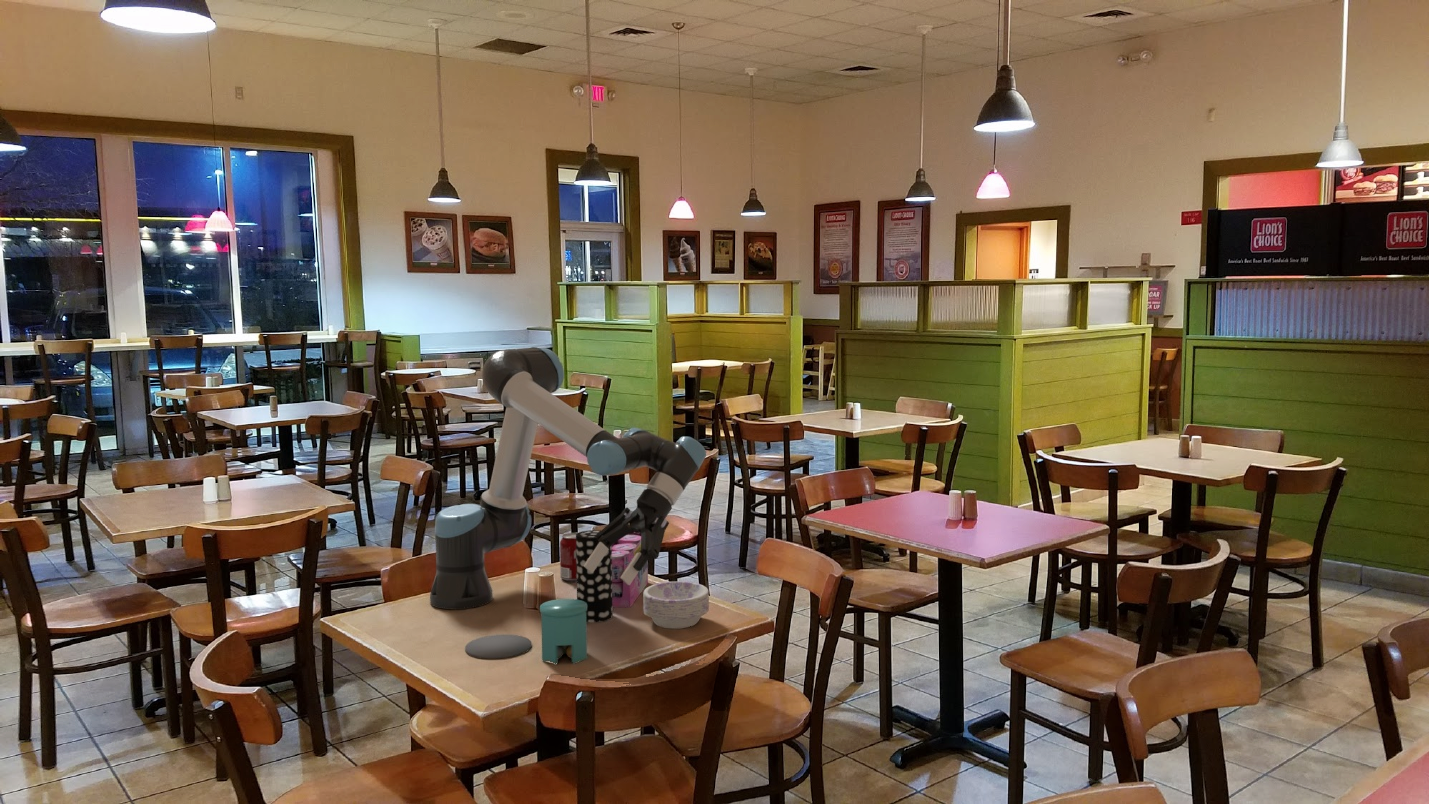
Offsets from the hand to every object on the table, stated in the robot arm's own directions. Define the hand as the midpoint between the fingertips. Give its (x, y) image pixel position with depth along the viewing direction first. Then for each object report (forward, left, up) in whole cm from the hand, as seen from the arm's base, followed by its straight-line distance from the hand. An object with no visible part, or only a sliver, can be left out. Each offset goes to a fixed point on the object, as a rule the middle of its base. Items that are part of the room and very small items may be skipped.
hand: (605, 575), depth 222 cm
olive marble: (-7, -7, -16) cm, 18 cm away
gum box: (-8, +38, -16) cm, 42 cm away
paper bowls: (+11, +18, -16) cm, 26 cm away
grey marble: (-8, -10, -16) cm, 20 cm away
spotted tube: (-9, +18, -16) cm, 26 cm away
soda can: (-26, +48, -16) cm, 57 cm away
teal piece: (-6, -9, -16) cm, 19 cm away
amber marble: (-4, -9, -16) cm, 18 cm away
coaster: (-22, -7, -16) cm, 28 cm away
